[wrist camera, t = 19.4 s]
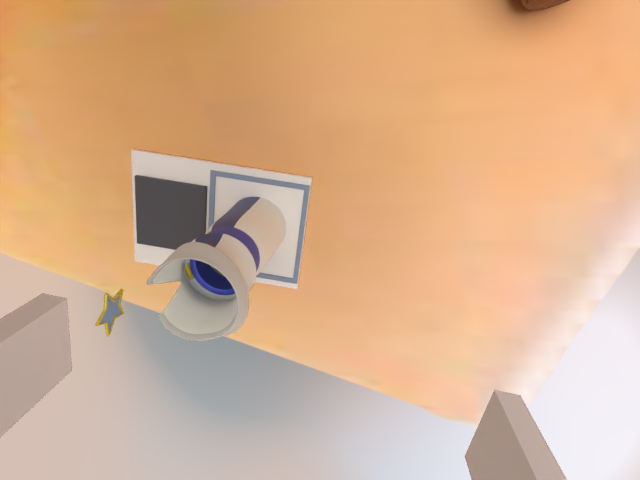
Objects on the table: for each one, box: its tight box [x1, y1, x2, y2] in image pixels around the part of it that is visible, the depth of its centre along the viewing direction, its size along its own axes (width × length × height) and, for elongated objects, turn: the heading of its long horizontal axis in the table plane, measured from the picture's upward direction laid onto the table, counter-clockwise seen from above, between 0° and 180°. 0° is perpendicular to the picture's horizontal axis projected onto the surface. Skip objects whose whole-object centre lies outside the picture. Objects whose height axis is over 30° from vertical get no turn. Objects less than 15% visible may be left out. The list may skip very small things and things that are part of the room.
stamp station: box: [131, 149, 313, 289], centre depth 48 cm, size 15×22×1 cm
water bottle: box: [96, 197, 286, 341], centre depth 36 cm, size 8×9×25 cm
